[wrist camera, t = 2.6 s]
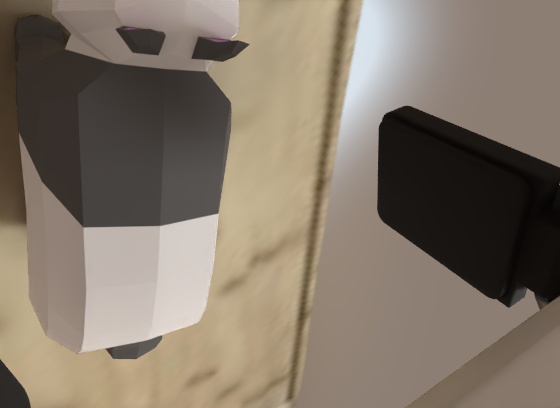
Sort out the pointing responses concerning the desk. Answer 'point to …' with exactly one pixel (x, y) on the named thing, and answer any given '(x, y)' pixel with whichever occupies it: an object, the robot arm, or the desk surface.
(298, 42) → the desk surface
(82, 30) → the giant panda
